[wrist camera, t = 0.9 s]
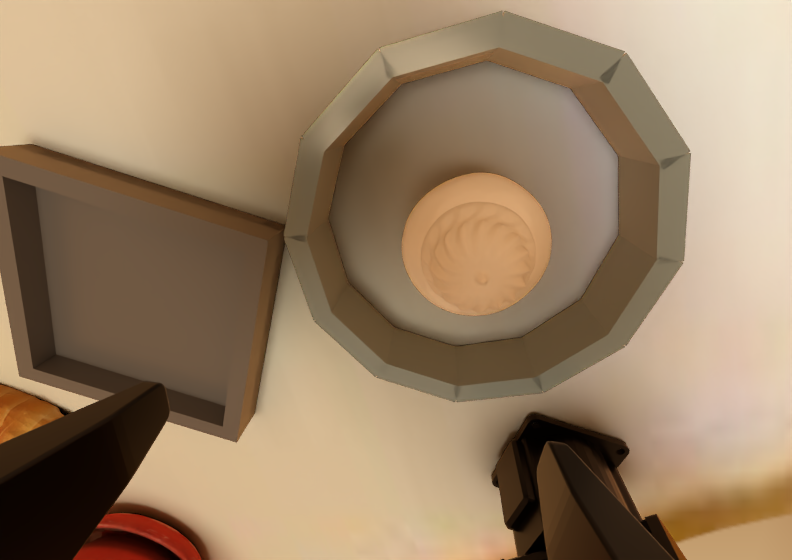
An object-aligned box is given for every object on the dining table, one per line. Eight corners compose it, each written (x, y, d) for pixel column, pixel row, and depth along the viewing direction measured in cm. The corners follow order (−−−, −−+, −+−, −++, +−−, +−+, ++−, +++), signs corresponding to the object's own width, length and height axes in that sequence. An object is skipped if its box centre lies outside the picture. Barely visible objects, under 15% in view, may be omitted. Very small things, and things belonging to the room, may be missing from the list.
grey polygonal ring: (719, 108, 16) (790, 107, 12) (546, 390, 22) (563, 436, 19) (355, -15, 15) (332, -48, 12) (290, 309, 22) (264, 342, 19)
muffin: (414, 156, 18) (400, 179, 11) (545, 168, 17) (605, 200, 11) (403, 274, 20) (386, 347, 14) (516, 288, 20) (552, 369, 14)
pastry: (-31, 411, 29) (-94, 451, 26) (-14, 358, 27) (-81, 394, 23) (81, 472, 31) (36, 517, 27) (107, 426, 28) (61, 470, 25)
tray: (287, 226, 20) (268, 240, 18) (254, 413, 26) (236, 442, 23) (31, 144, 20) (-23, 148, 17) (56, 352, 25) (19, 376, 23)
